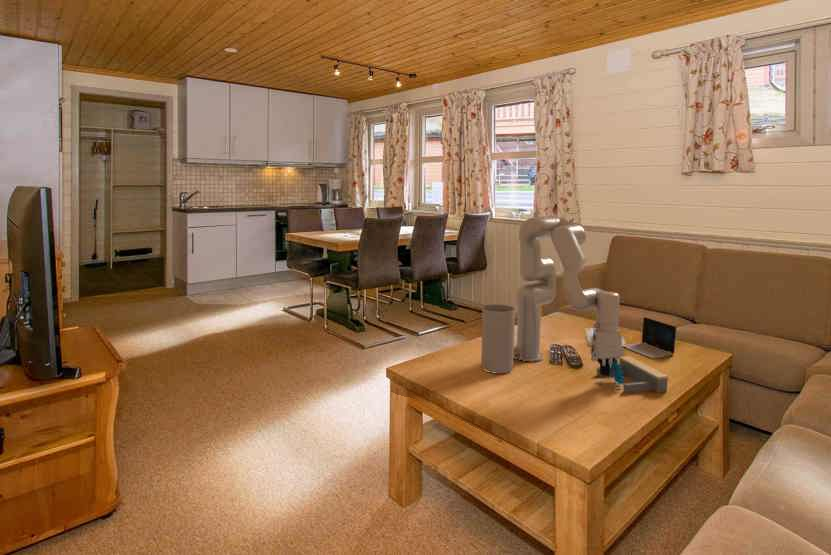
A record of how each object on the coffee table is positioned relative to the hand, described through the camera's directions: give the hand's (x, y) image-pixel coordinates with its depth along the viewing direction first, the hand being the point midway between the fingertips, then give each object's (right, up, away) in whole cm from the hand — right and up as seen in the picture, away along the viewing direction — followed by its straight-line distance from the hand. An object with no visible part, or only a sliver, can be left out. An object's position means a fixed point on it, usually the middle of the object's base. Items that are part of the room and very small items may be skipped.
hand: (604, 374), depth 186 cm
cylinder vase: (-36, -1, +18) cm, 40 cm away
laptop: (+33, +3, +40) cm, 52 cm away
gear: (+3, -2, +2) cm, 4 cm away
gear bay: (+10, -3, +4) cm, 12 cm away
